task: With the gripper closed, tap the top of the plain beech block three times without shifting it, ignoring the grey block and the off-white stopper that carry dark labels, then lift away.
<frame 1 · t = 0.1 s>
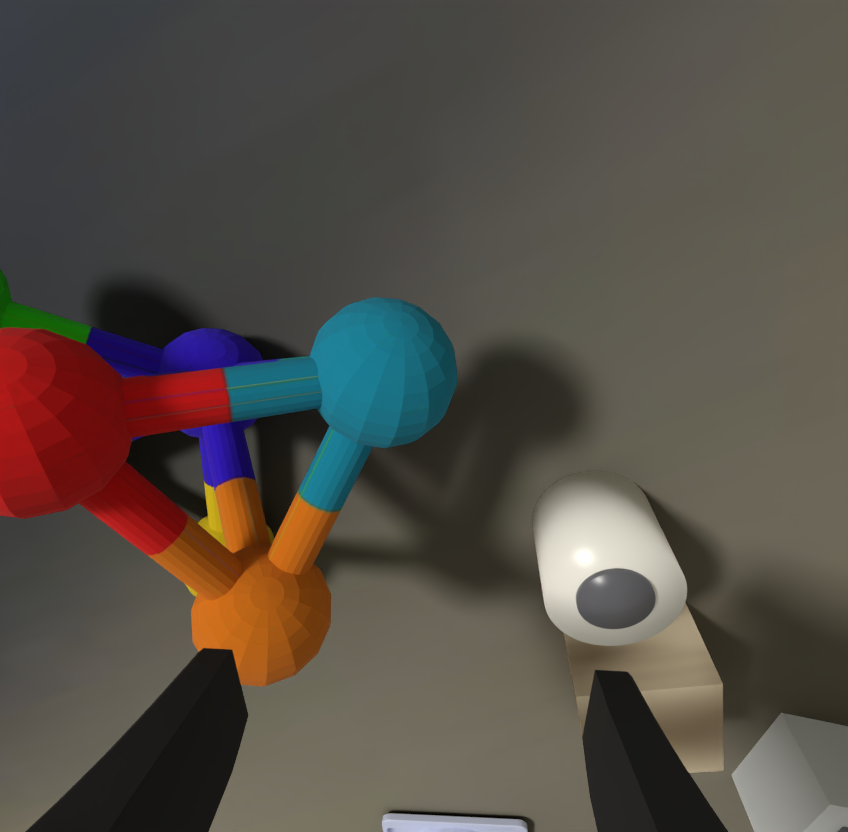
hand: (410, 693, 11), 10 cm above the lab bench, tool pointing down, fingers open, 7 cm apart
grey labelled block: (804, 752, 26), on the lab bench
beech block: (625, 646, 24), on the lab bench
molecular model: (204, 386, 20), on the lab bench
offwhite stopper: (590, 519, 21), on the lab bench
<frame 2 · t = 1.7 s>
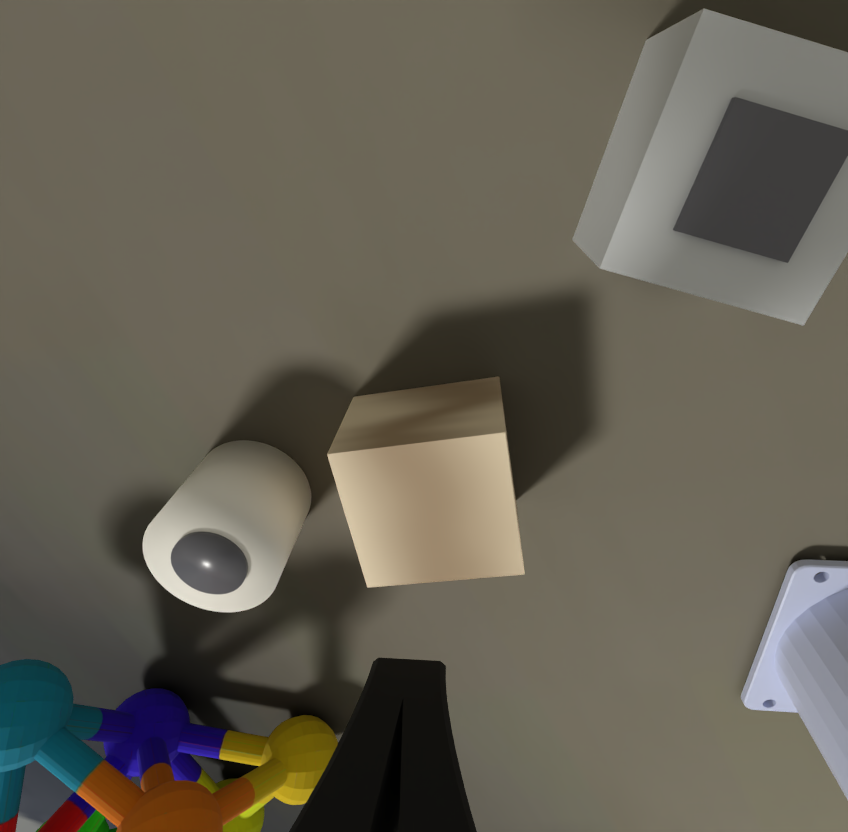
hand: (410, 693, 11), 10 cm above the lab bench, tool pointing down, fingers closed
grey labelled block: (691, 172, 15), on the lab bench
beech block: (437, 448, 20), on the lab bench
molecular model: (191, 712, 28), on the lab bench
offwhite stopper: (254, 489, 21), on the lab bench
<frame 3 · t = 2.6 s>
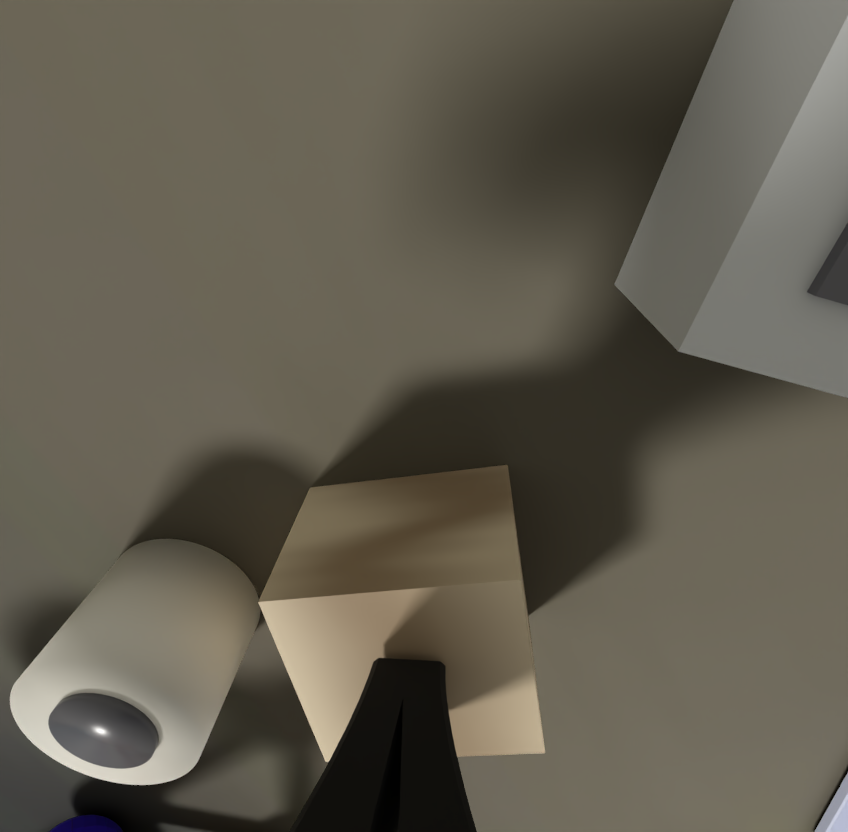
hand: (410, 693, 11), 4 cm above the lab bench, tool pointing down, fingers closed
grey labelled block: (794, 188, 10), on the lab bench
beech block: (424, 551, 15), on the lab bench
offwhite stopper: (186, 597, 16), on the lab bench
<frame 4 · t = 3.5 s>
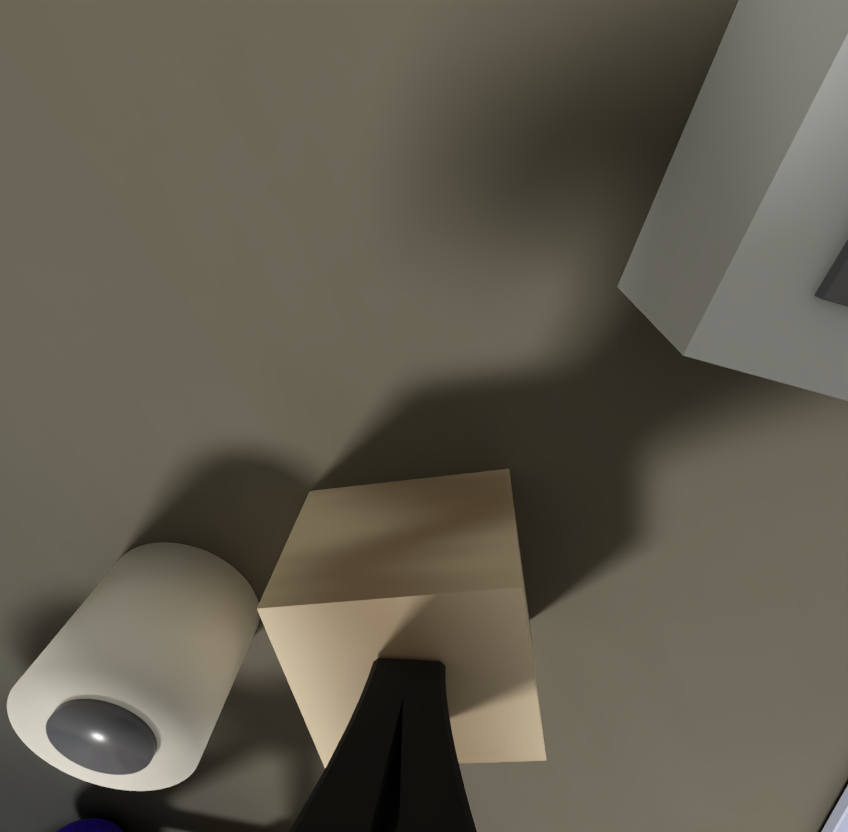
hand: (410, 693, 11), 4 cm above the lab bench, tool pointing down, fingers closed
grey labelled block: (800, 190, 10), on the lab bench
beech block: (425, 555, 15), on the lab bench
offwhite stopper: (185, 601, 16), on the lab bench
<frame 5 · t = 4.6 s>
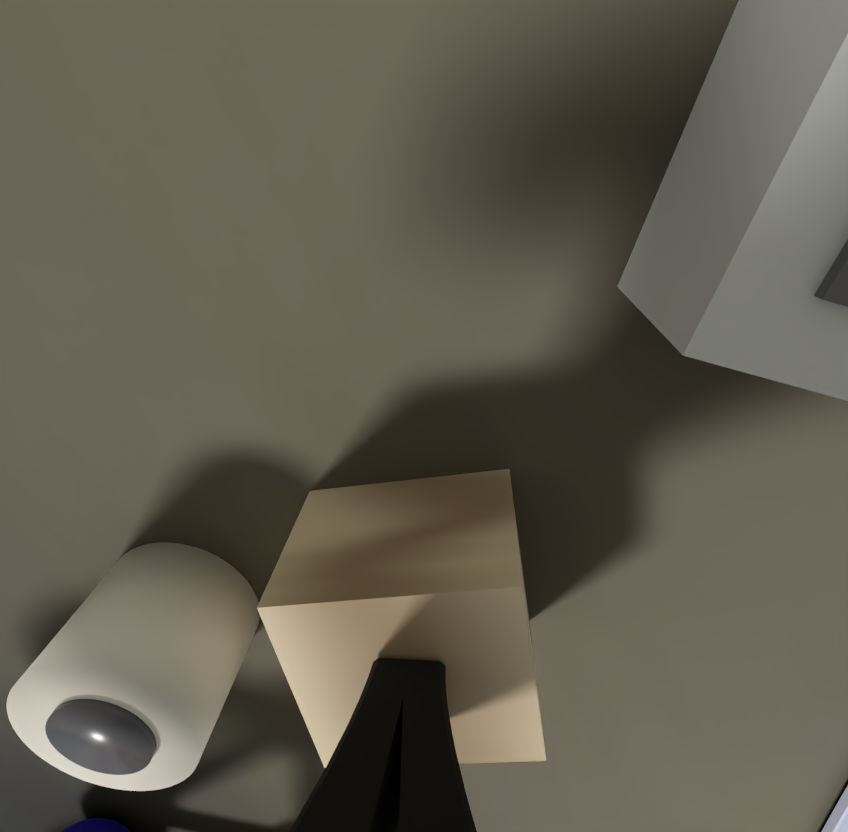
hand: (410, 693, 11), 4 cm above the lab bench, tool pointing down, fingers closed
grey labelled block: (800, 190, 10), on the lab bench
beech block: (425, 555, 15), on the lab bench
offwhite stopper: (185, 601, 16), on the lab bench
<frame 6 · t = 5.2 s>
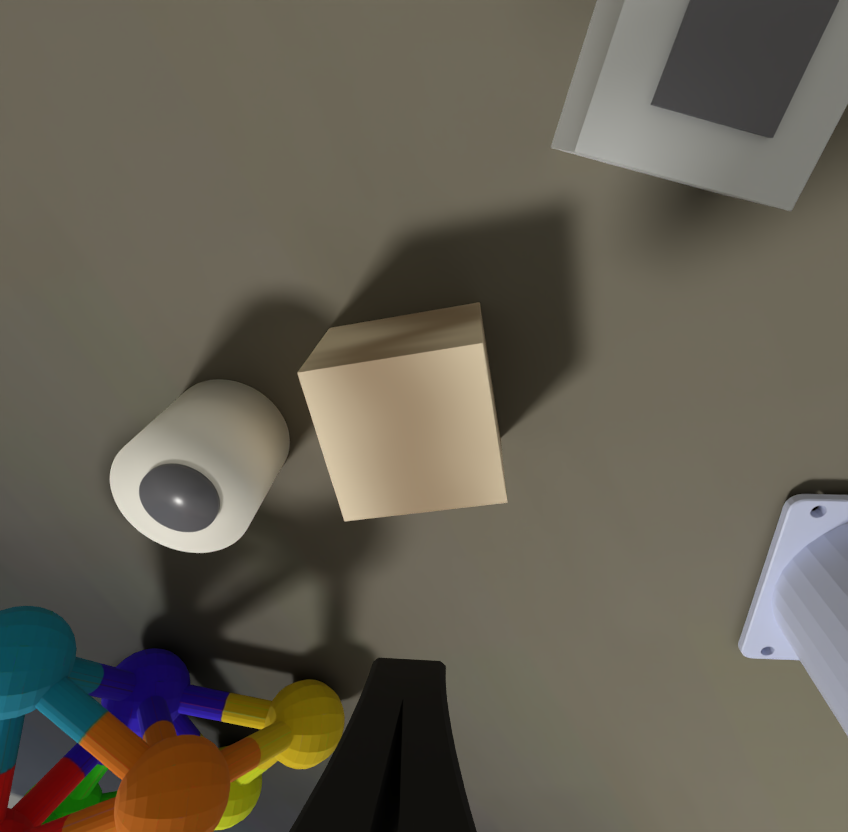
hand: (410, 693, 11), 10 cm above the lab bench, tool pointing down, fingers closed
grey labelled block: (673, 69, 14), on the lab bench
beech block: (418, 383, 19), on the lab bench
molecular model: (190, 675, 27), on the lab bench
offwhite stopper: (231, 433, 20), on the lab bench
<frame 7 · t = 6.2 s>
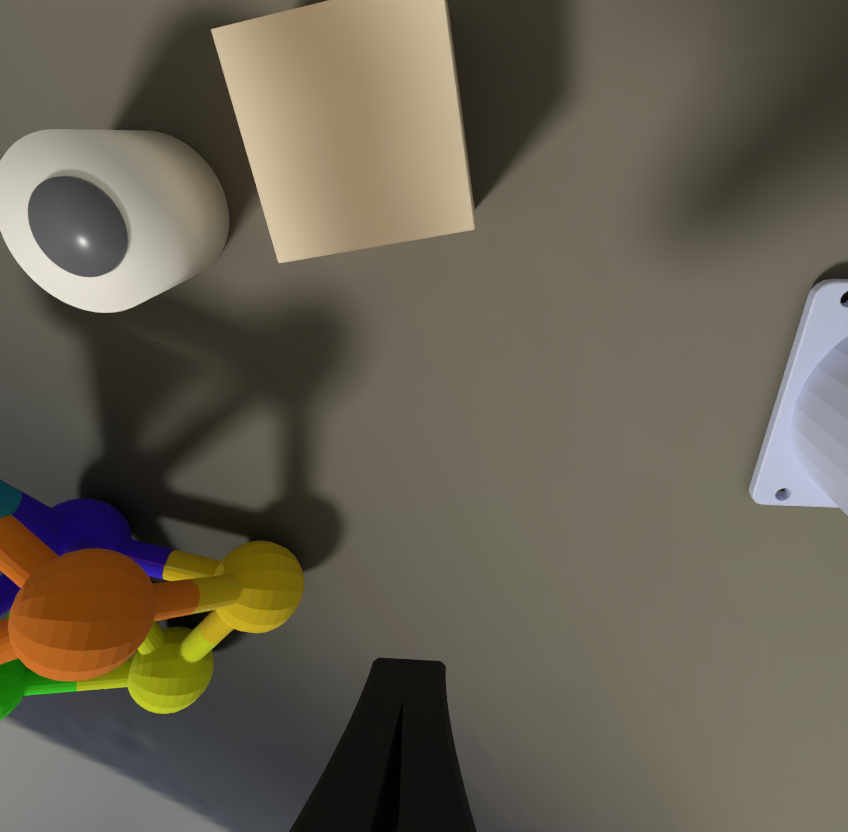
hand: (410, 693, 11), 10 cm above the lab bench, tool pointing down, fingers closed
beech block: (377, 134, 16), on the lab bench
molecular model: (135, 540, 24), on the lab bench
offwhite stopper: (161, 208, 17), on the lab bench
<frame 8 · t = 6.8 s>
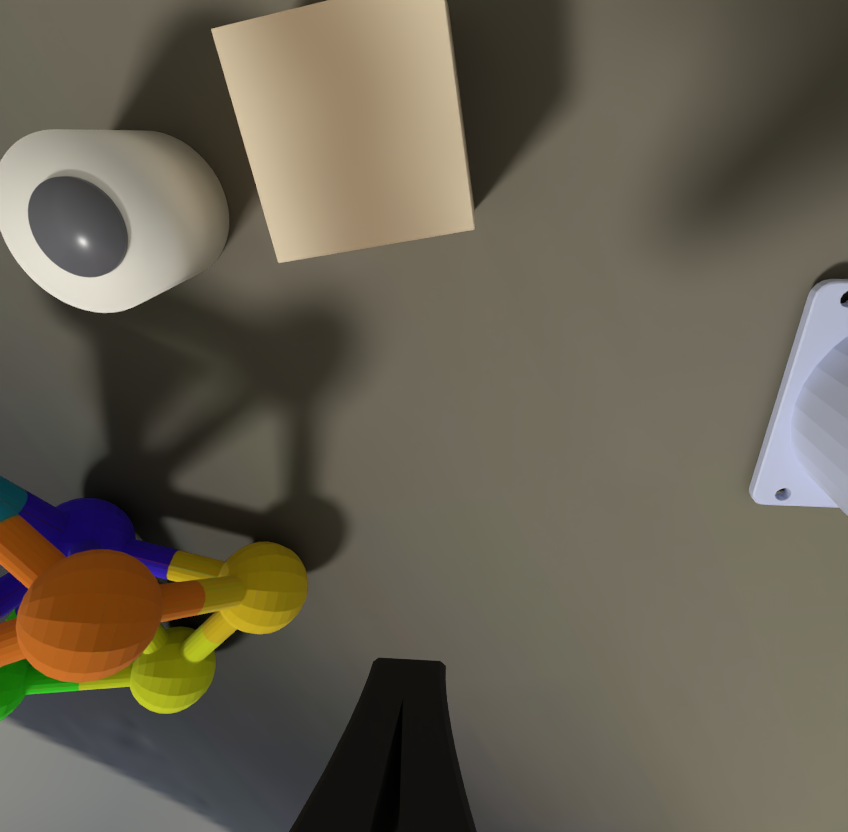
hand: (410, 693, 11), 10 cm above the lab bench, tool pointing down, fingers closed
beech block: (377, 134, 16), on the lab bench
molecular model: (138, 540, 24), on the lab bench
offwhite stopper: (161, 208, 17), on the lab bench
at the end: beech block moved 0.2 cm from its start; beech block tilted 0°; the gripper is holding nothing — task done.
